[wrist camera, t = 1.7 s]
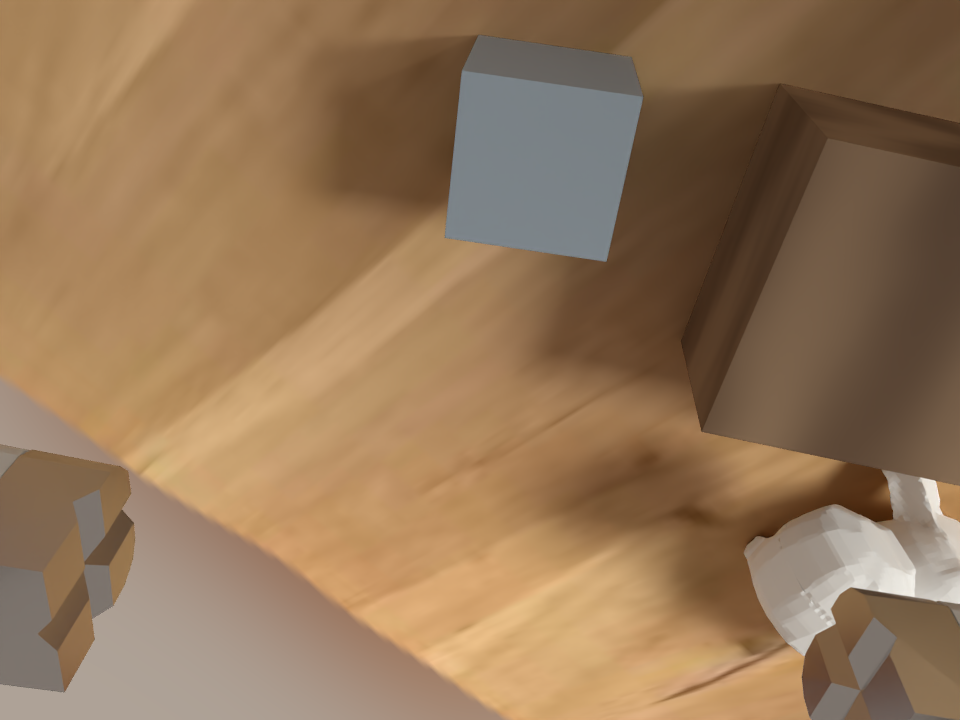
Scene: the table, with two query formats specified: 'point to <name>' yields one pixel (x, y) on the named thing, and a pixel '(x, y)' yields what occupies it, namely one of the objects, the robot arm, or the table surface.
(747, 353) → the walnut block
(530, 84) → the slate block
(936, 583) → the white turtle figurine
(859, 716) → the robot arm
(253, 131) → the table surface
